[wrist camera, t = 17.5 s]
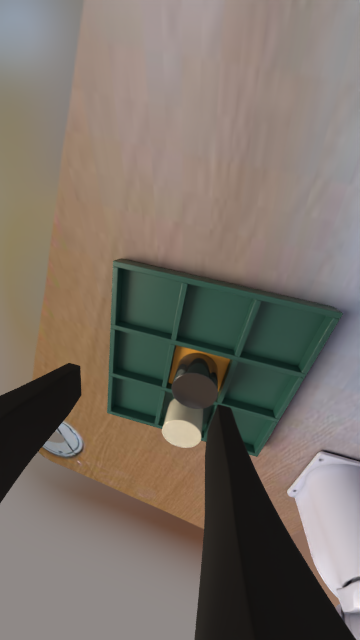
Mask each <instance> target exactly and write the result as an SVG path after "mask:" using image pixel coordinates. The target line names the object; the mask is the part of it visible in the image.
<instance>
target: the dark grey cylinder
mask: <svg viewBox="0 0 360 640" xmlns="http://www.w3.org/2000/svg"><path fill="white" fill-rule="evenodd" d="M172 393H173V396H174V397H175V399H176V400H177V401H178V402H179V403H180V404H182V405H184V406H186V407H189V408H192V409H203V408H207V407H209V406H211V405H212V404H213V403H214V402H215V401H216V399H217V396H218V368H217V365H216V363H215V362H214V360H213V359H212V358H210V357H209V356H207V355H205V354H201V353H191V354H188V355H186V356H184V357H183V358H182V359H181V360H180V361H179V363H178V366H177V370H176V373H175V376H174V380H173V383H172Z"/></svg>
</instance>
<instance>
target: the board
mask: <svg viewBox="0 0 360 640" xmlns="http://www.w3.org/2000/svg"><path fill="white" fill-rule="evenodd" d="M113 266H114V267H113V278H112V304H111V330H110V356H109V382H108V408H107V413H109V414H113V415H116V416H120V417H123V418H126V419H130V420H133V421H137V422H140V423H143V424H147V425H150V426H154V427H157V428H161V429H162V427H163V424H164V420H165V417H166V413H167V410H168V406H169V403H170V402H171V401H172V400H173V399H175V397H174V396H173V393H172V383H173V380H174V376H175V373H176V370H177V366H178V363H179V361H180V360H181V359H182V358H183V357H184V356H186V355H188V354H191V353H201V354H205V355H207V356H209V357H210V358H212V359H213V360H214V362H215V363H216V365H217V368H218V396H217V399H216V401H215V402H214V403H213V404H212V405H211V406H209V407H207V408H203V425H202V438H201V441H205V442H206V441H207V432H208V429H209V426H210V424H211V421H212V418H213V416H214V413H215V411H216V408H217V405H218V404H219V405H223V406H227V407H230V408H231V409H232V412H233V415H234V418H235V421H236V424H237V426H238V429H239V432H240V434H241V437H242V439H243V442H244V444H245V447H246V449H247V451H248V454H249V455H253V456H256V457H258V455H259V453H260V452H261V450H262V448H263V447H264V445H265V443H266V442H267V440H268V438H269V437H270V435H271V433H272V432H273V430H274V428H275V426H276V425H277V423H278V421H279V420H280V418H281V416H282V415H283V413H284V411H285V410H286V408H287V406H288V405H289V403H290V401H291V400H292V398H293V396H294V395H295V393H296V391H297V390H298V388H299V386H300V385H301V383H302V381H303V380H304V378H305V376H306V375H307V373H308V371H309V370H310V368H311V366H312V365H313V363H314V361H315V360H316V358H317V356H318V355H319V353H320V351H321V350H322V348H323V346H324V345H325V343H326V341H327V340H328V338H329V336H330V335H331V333H332V331H333V330H334V328H335V326H336V325H337V323H338V321H339V319H340V318H341V316H342V315H343V313H342V312H340V311H339V310H337V309H336V308H334V307H332V306H327V305H323V304H318V303H314V302H310V301H305V300H301V299H296V298H292V297H288V296H283V295H279V294H275V293H270V292H266V291H261V290H257V289H253V288H248V287H244V286H239V285H235V284H231V283H226V282H222V281H217V280H213V279H209V278H204V277H200V276H195V275H191V274H187V273H182V272H178V271H174V270H169V269H165V268H160V267H156V266H152V265H147V264H143V263H138V262H134V261H130V260H125V259H118V260H114V261H113Z"/></svg>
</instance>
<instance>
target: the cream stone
mask: <svg viewBox="0 0 360 640" xmlns="http://www.w3.org/2000/svg"><path fill="white" fill-rule="evenodd" d="M202 425H203V409H192V408H189V407H186V406H184V405H182V404H180V403H179V402H178V401H177V400H176V399H173V400H172V401H171V402H170V403H169V406H168V410H167V413H166V417H165V420H164V424H163V427H162V433H163V436H164V438H165V439H166V440H167V441H168V442H169V443H171V444H173V445H175V446H178V447H182V448H190V447H194V446H196V445H197V444H199V442H200V441H201V438H202Z"/></svg>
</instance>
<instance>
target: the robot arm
mask: <svg viewBox="0 0 360 640" xmlns="http://www.w3.org/2000/svg"><path fill="white" fill-rule="evenodd" d="M80 396H81V375H80V366H78V365H75V364H71V363H68V364H66V365H64V366H62V367H60V368H58V369H56V370H54V371H52V372H50V373H48V374H46V375H44V376H42V377H39V378H37V379H35V380H33V381H31V382H29V383H27V384H26V385H23V386H21V387H19V388H17V389H14V390H12V391H10V392H8V393H5V394H3V395H1V396H0V503H1V501H2V500H3V498H4V497H5V495H6V494H7V493H8V491H9V490H10V488H11V487H12V485H13V484H14V483H15V481H16V480H17V478H18V477H19V476H20V474H21V473H22V471H23V470H24V469H25V467H26V466H27V465H28V463H29V462H30V461H31V459H32V458H33V457H34V456H35V454H36V453H37V452H38V451H39V450H40V448H41V447H42V446H43V445H44V444H45V442H46V441H47V440H48V439H49V438H50V436H51V435H52V434H53V433H54V432H55V430H56V429H57V428H58V427H59V426H60V424H61V423H62V422H63V421H64V419H65V418H66V417H67V416H68V414H69V413H70V412H71V410H72V409H73V407H74V406H75V404H76V403H77V401H78V399H79V398H80ZM287 493H288V495H289V496H291V497H294V498H295V500H296V503H297V507H298V510H299V514H300V517H301V520H302V524H303V527H304V531H305V534H306V538H307V541H308V545H309V548H310V551H311V555H312V558H313V561H314V563H315V566H316V568H317V570H318V572H319V574H320V575H321V577H322V579H323V580H324V582H325V583H326V585H327V586H328V588H329V589H330V590H331V591H332V592H333V594H334V595H335V596H336V597H338V598H339V601H340V604H339V605H337V606H336V608H335V607H334V605H333V604H332V602H331V601H330V599H329V598H328V597H327V595H326V593H325V592H324V590H323V589H322V587H321V585H320V584H319V582H318V581H317V579H316V577H315V576H314V574H313V572H312V571H311V569H310V568H309V566H308V564H307V563H306V561H305V560H304V558H303V556H302V555H301V553H300V551H299V550H298V548H297V547H296V545H295V543H294V542H293V540H292V539H291V536H290V535H289V533H288V531H287V529H286V528H285V526H284V524H283V522H282V521H281V519H280V517H279V515H278V513H277V511H276V510H275V508H274V506H273V504H272V502H271V500H270V498H269V496H268V494H267V492H266V490H265V488H264V486H263V484H262V482H261V480H260V478H259V476H258V474H257V472H256V470H255V467H254V465H253V463H252V461H251V458H250V456H249V454H248V451H247V449H246V447H245V444H244V442H243V439H242V437H241V434H240V432H239V429H238V426H237V424H236V421H235V418H234V415H233V412H232V409H231V408H230V407H227V406H223V405H219V404H218V405H217V408H216V411H215V413H214V416H213V418H212V421H211V424H210V426H209V429H208V432H207V441H206V452H205V524H204V539H203V552H202V564H201V576H200V587H199V599H198V610H197V619H196V630H195V640H360V462H359V461H355V460H352V459H348V458H345V457H341V456H338V455H334V454H331V453H327V452H323V451H321V452H318V453H317V455H316V456H315V457H314V458H313V460H312V461H311V462H310V463H309V465H308V466H307V467H306V468H305V470H304V471H303V472H302V473H301V474H300V476H299V477H298V478H297V479H296V481H295V482H294V483H293V484H292V486H291V487H290V488H289V489H288V490H287Z"/></svg>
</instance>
